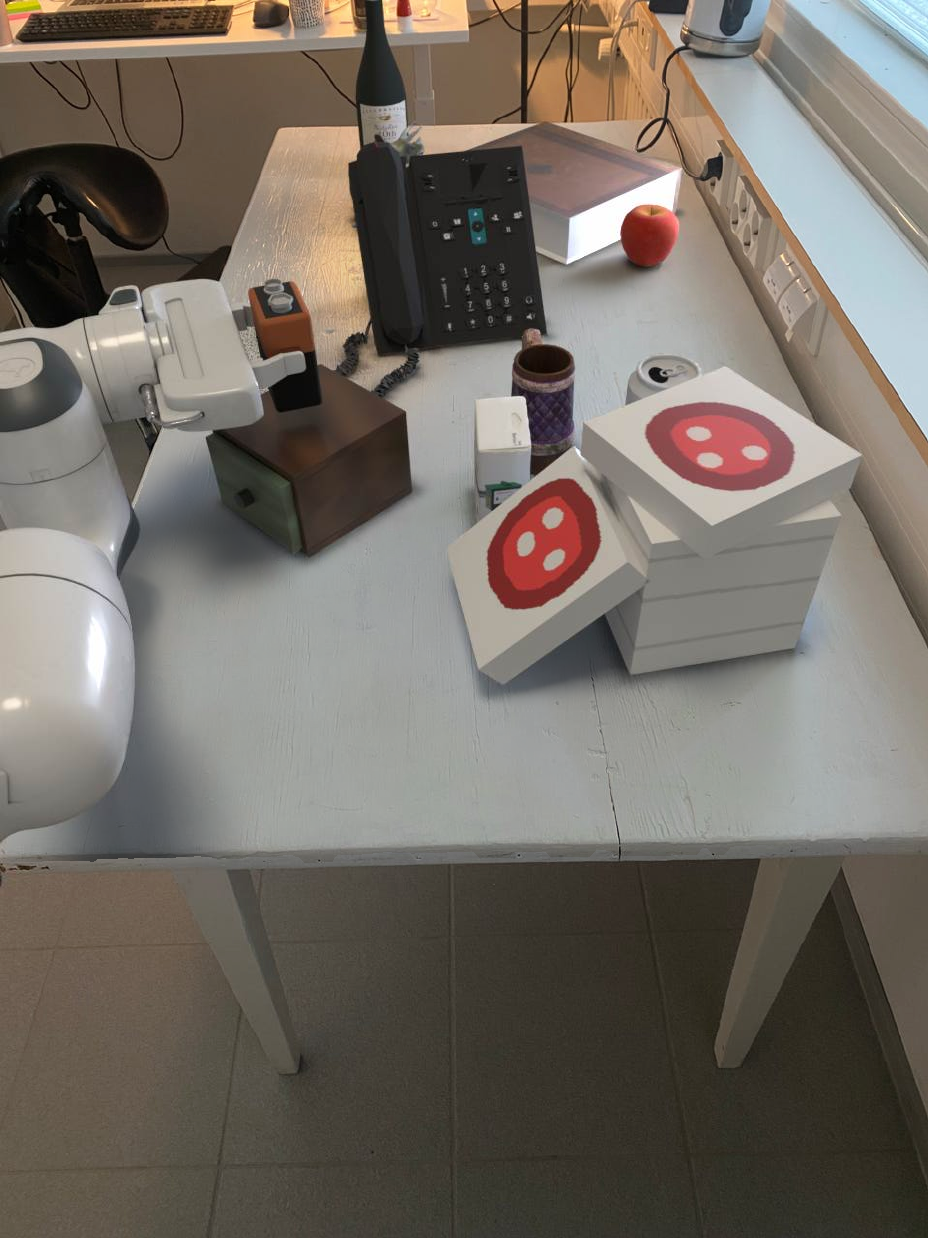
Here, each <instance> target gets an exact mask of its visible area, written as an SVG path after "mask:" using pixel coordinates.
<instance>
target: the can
mask: <svg viewBox="0 0 928 1238" xmlns="http://www.w3.org/2000/svg"><path fill="white" fill-rule="evenodd" d="M702 371H703V370H702V367H701V366H700V365H699V364H698V363H697V362H696V361H694V360H692V359H691V358H689V357H687V356H684V355H681V354H677V353H676V354H675V353H657V354H655V353H654V354H651V355H649V356H646V357H644V358H642V359H641V360H640V361H639V362H638V364H637V366H636V368H635V370H634V371H633V372H632V373H631V374H630V376H629V378H628V380H627V388H626V396H625V404H624V406H626V405H628V404H631V403H633V402H636V401H638V400H641V399H643V398H646V397H648V396H651V395H654V394H656V393H659V392H661V391H664V390H666V389H669V388H671V387H674V386H676V385H679V384H681V383H684V382H686V381H689V380H691V379H694V378H697V377H699V376H702V375H703V372H702Z"/></svg>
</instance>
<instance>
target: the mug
mask: <svg viewBox="0 0 928 1238" xmlns="http://www.w3.org/2000/svg"><path fill="white" fill-rule="evenodd" d="M575 378H576V365H575V357H574V356H573V354H572V353H571V352H570V351H569V350H567V349H565V347H564V348H563V347H562V346H559V345H555V344H548V343H543V338H542V334H540V330H536V329H533V328H531V329H528V330H525V331H523V337H521V349H520V350H519V351H518V352H516V353H515V356H514V358H513V363H512V369H511V379H512V380H511V392H510V397H512V396H523V397H524V398H525V399H526V406H527V417H528V421H529V424H528V425H529V430H530V440H531V456H530V473H533V474H539V473H540V472H542V471H543V470H544V469H545V468H547V467H548V466H549V465H550V464H552V463H553V462H554V461H555V460H557V459H558V458H559V457H560V456H562V455H563V454H564V453H565V452H567V451H568V450H569V449H570V448H572V447H573V443H574V439H575V421H574V400H575V399H574V398H575V397H574V396H575V395H574V394H575Z"/></svg>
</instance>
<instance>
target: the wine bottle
mask: <svg viewBox="0 0 928 1238" xmlns="http://www.w3.org/2000/svg"><path fill="white" fill-rule="evenodd" d="M383 3H384V2H383V0H364V11H365V27H366V28H365V29H366V30H365V41H364V46H363V51H362V56H361V60H360V63H359V68H358V72H357V76H356V81H355V95H354V96H355V107H356V118H357V119H356V120H357V129H358V140H359V141H358V142H359V148H360V149H361V148H362V146H363V145H366V144H369V143H372V142H375V138H374V136H375V135H374V133H375V134H376V133H378V134H380V135H382V137H383V138H384V139H385V140H386V141H388V142H390V143H392V142H395V141H397V140H398V139H399V137H400V135H401V133H402V132H403V131H404V130H405V129H406V128H407V127H409V118H408V117H409V116H408V102H407V93H406V89H405V83H404V80H403V77H402V74H401V71H400V68H399V67H398V64H397V61H396V59H395V57H394V54H393V51H392V48H391V46H390V43H389V41H388V37H387V33H386V27H385V19H384V4H383ZM408 135H409V132H408V133H407V135H406V137H407V136H408ZM405 139H406V138H405ZM360 149H359V150H360ZM406 169H409V163H408V164H406Z"/></svg>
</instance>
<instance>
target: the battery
mask: <svg viewBox="0 0 928 1238" xmlns="http://www.w3.org/2000/svg"><path fill="white" fill-rule="evenodd" d="M247 296H248V301H249V303H250V306H251V311H252V317H253V322H254V327H253V328H254V333H255V337H256V341H257V349H258V352H259V358H263V361H265V360H267V359H269V358H271V357H274V356H276V355H278V354H280V353H281V350H280V349H283V348H289V347H290V348H291V347H294V346H297V347H300V349H301V350H302V353H303V354H304V357H305V363H306V369H305V371H303V372H300V373H295V374H290V375H287V376H286V377H284V378H283V379H281V380H280V381H278V382H277V383H275V384H274V385H272V386H271V387H268V391H269V392H270V395H271V397H272V400H273V403H274V406H275V408H276V410H277V411H278V412H280V413H281V412H287V411H292V410H297V409H302V408H307V407H312V406H317V405H320V404H322V401H323V399H322V391H321V384H320V377H319V370H318V365H319V364H318V356H317V350H316V349H317V348H316V341H315V335H314V330H313V321H312V315H311V313H310V311H309V309H308V306H307V304H306V302H305V300H304V297H303V296H302V294H301V291H300V289H299V287H298V285H297V283H296V282H295V281H294V280H293V281H292V280H288V281H283V282H282V279H279V278H276V277H275V278H274V277H272V278H268V279H266V280H265V281H264V283H263V285H260V286H254V287H250V288H248V292H247Z"/></svg>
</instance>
